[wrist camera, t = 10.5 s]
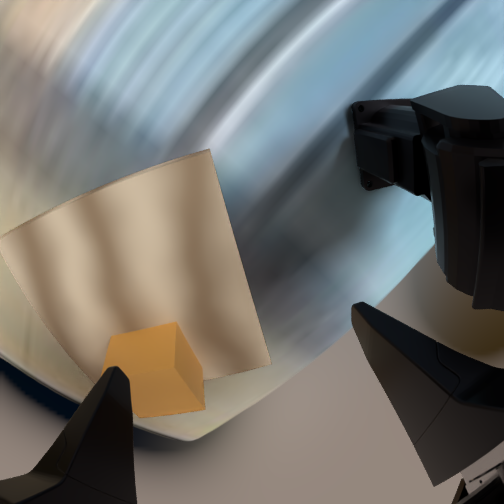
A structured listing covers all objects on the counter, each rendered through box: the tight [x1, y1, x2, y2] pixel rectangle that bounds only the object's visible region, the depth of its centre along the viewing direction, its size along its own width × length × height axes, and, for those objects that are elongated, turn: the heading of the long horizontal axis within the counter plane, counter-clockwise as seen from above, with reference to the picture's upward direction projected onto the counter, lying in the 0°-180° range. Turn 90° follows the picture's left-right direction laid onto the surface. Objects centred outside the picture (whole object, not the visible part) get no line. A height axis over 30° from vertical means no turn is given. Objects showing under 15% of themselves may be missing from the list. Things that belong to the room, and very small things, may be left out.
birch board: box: [0, 149, 272, 384], centre depth 19 cm, size 18×19×5 cm
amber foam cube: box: [101, 321, 205, 418], centre depth 20 cm, size 6×6×4 cm
